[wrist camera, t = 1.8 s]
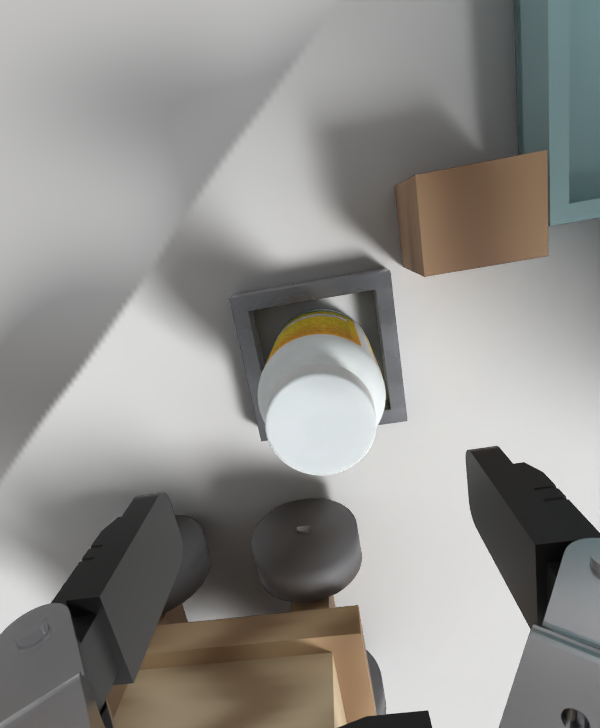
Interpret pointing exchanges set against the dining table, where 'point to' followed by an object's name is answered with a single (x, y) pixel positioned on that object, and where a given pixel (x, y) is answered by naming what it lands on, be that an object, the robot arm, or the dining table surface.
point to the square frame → (318, 290)
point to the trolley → (263, 637)
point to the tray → (561, 100)
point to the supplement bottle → (321, 393)
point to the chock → (474, 215)
